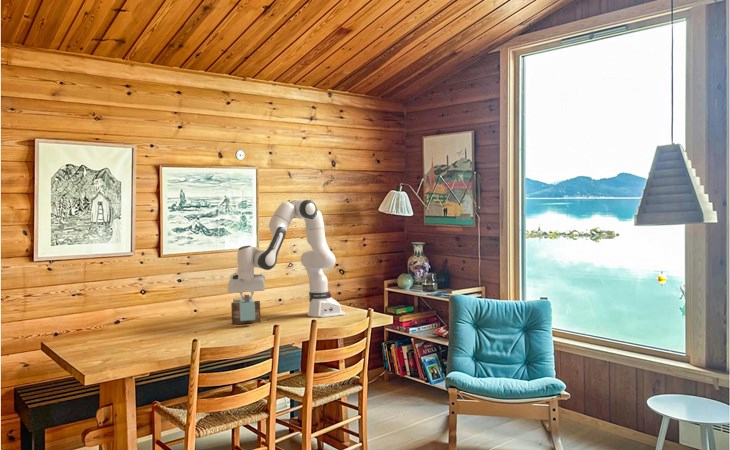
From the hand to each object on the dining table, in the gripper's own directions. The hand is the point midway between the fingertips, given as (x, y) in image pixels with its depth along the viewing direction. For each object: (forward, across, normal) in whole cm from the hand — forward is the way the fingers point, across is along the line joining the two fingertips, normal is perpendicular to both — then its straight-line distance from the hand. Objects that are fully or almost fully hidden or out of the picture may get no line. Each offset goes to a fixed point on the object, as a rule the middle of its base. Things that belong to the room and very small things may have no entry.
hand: (246, 299), depth 325 cm
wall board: (+15, 0, -8) cm, 17 cm away
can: (+15, +2, -28) cm, 32 cm away
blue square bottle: (+11, 0, -2) cm, 11 cm away
